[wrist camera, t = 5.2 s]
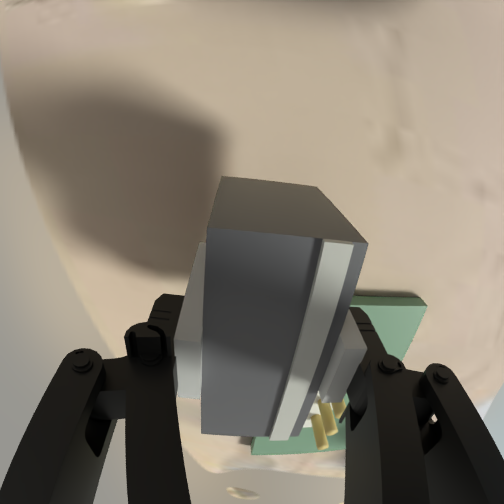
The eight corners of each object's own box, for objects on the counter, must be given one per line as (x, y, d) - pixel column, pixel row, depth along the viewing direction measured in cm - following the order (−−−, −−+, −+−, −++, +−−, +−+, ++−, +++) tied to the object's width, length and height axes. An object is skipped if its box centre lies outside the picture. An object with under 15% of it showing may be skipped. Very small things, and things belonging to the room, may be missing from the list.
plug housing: (221, 176, 13) (206, 230, 7) (317, 186, 14) (371, 246, 8) (210, 341, 17) (201, 437, 11) (283, 345, 17) (298, 440, 12)
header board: (284, 292, 20) (297, 338, 16) (420, 297, 22) (450, 334, 17) (250, 445, 29) (253, 482, 24) (346, 440, 30) (355, 473, 26)
